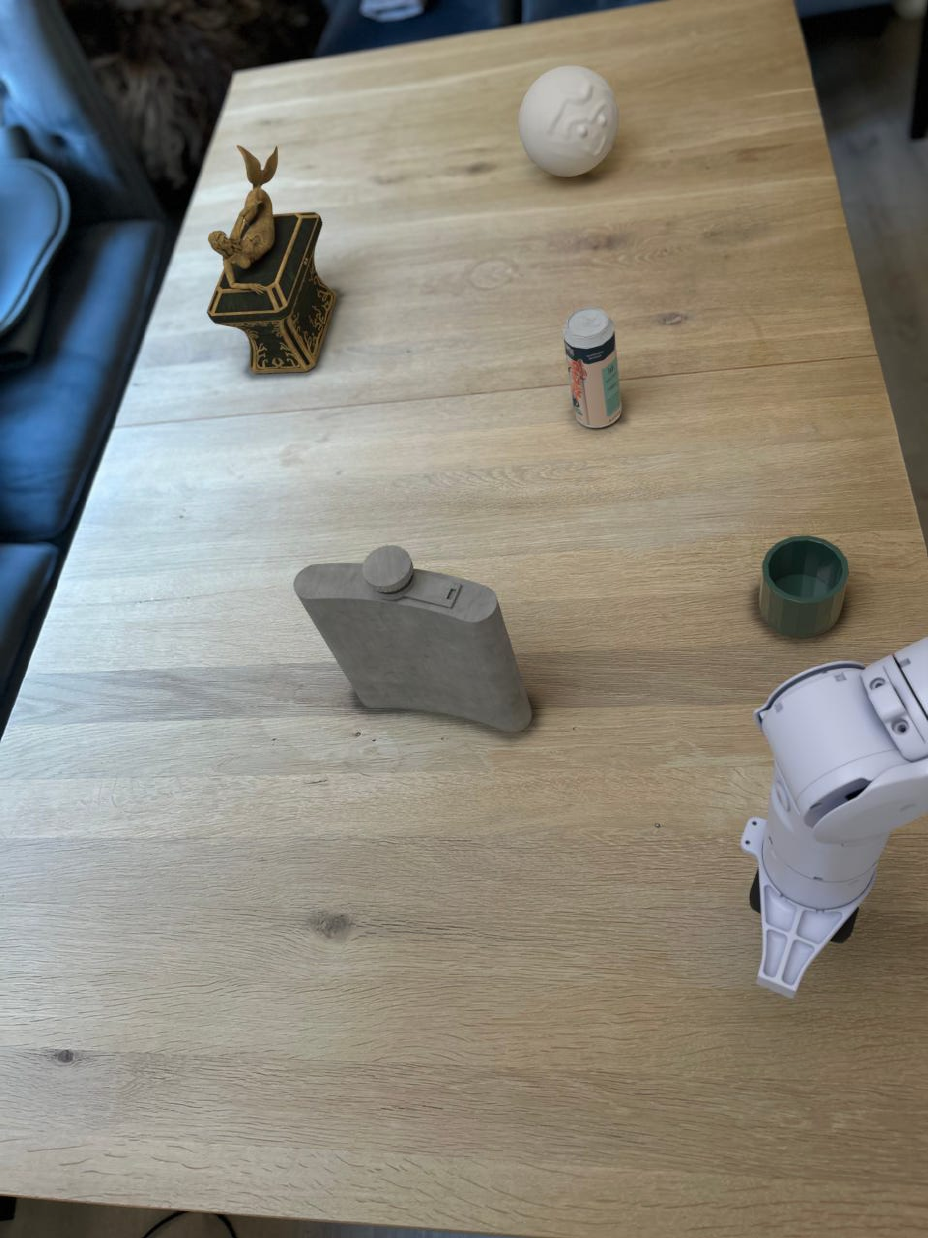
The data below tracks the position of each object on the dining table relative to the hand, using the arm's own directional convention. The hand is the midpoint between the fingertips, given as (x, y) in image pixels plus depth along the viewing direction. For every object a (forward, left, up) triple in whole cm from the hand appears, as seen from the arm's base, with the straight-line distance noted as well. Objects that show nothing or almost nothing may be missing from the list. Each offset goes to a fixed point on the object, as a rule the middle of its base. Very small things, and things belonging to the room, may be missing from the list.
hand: (803, 906), depth 61 cm
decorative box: (+73, -48, -10) cm, 88 cm away
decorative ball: (+52, -82, -10) cm, 98 cm away
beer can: (+33, -44, -10) cm, 56 cm away
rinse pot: (+8, -28, -10) cm, 31 cm away
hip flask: (+33, -9, -10) cm, 35 cm away
